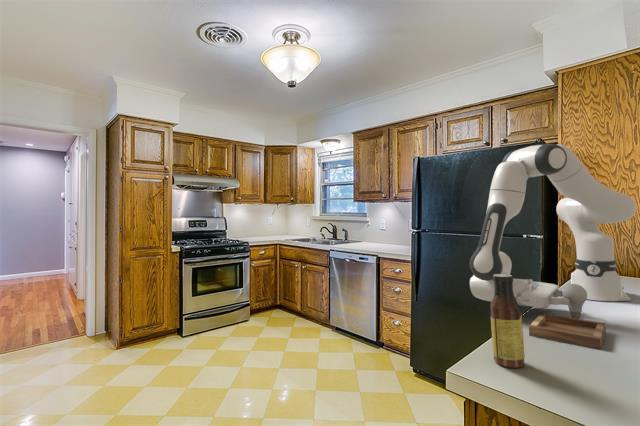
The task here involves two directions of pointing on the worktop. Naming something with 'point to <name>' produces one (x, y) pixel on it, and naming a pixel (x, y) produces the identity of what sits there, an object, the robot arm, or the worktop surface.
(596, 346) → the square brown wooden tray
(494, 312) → the sauce bottle
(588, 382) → the worktop surface
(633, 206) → the robot arm
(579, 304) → the lightbulb
